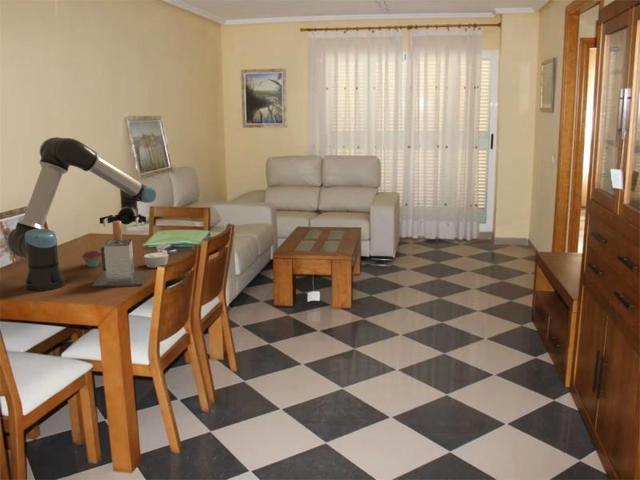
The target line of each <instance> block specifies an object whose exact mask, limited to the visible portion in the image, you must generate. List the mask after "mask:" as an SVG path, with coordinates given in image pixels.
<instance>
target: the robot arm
mask: <svg viewBox="0 0 640 480" xmlns="http://www.w3.org/2000/svg"><path fill="white" fill-rule="evenodd" d="M39 155H40V157H41V158H40V160H39V164H40V167H41V169H40V171H39V175H38V177H37V180H36V182H35V186H34V188H33V191H32V194H31V197H30V199H29V202H28V205H27V206H26V207H27V208H26V210H25V213H24V216H23V218H22V219H21V220H19V221H17V223H16V226H15V228H14V229H12V230H11V231H9V233H8V235H7V237H6V247H7V249H8V250H9V251H10V252H11V253H12V254H13V255H16V256H18V257H21V258H25V259H27V268H28V269H27V274H26V278H25V280H24V281H25V282H24V283H25V289H26V290H29V291H36V292H39V291H49V290H55V289H59V288H61V287H64V286H65V284H66V280H65V277H64V275H63V273H62V270H61V268H60V265H59V264H60V263H59V251H58V239H57V235H56V233H55V232H54V230H51V229H47V228H46V227H45V224H46V221H47V217H48V215H49V213H50V209H51V206H52V205H53V202H54V200H55V199H54V198H55V196H56V193H57V191H58V188H59V184H60V182H61V179H62V177H63V175H64V174H66V173H68V171H69V167H70V166H71V167H75V168H77V169H80V170H82V171H84V172H88V171H89V172H91V173H92V174H94V175H95V176H97V177H99V178H101V179H102V180H104V181H106V182H107V183H109V184H111V185H112V186H114V187H116V188H118V189H119V192H120V194H119V195H120V210H119V211H118V213H117V214H114V215H113V214H109V215H107V216H103V217H102V216H101V217H99V224H100V225H102V224H103V227H107V226H108V225H109V224H112V222H113V221H121V224H122V225H130V224H132V223H134V222H135V226H139V225H140V224H142V223H144V224H145V223H147V217H146V216H145V215H141V213H139V207H138V202H140V203H144V204H147V203H152V202H154V201H156V198H157V191H156V190H155V188H153V187H152V186H148V185H147V186H146V185H144V184H143V183H141V182H140V181H138V179H136V178H134V177H132V176H131V175H129V174H127V173H125V171H122V170H121V169H119V168H118V167H116V166H114V165H113V164H112V163H110V162H108V161H107V160H105V159H103V158H102V157H100V156H99V154H98V153H97V152H96V151H95V150H94V149H92V148H90V147H89V146H88V145H86V144H84V143H83V142H81V141H79V140H77V139H75V138H70V137H50V138H47V139H46V140H44V141H43V142H42V143H41V145H40V146H39Z"/></svg>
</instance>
